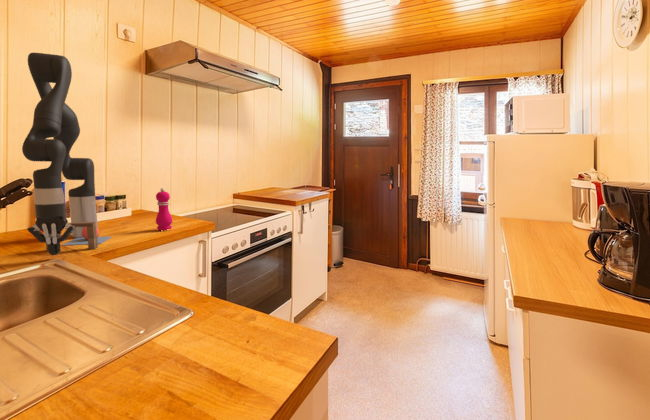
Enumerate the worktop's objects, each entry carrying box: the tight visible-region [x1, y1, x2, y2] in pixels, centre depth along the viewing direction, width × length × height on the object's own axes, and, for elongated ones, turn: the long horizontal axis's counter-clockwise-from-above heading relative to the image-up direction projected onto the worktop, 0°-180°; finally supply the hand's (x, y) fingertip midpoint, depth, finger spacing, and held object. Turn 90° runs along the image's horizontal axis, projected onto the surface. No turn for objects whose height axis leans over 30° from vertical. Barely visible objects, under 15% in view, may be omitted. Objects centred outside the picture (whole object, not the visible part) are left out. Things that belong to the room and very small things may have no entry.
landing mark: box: [62, 236, 112, 246], centre depth 138 cm, size 13×13×1 cm
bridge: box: [45, 222, 99, 252], centre depth 124 cm, size 3×15×10 cm, turn 105°
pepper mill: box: [155, 187, 173, 231], centre depth 161 cm, size 7×7×20 cm
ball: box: [82, 227, 100, 240], centre depth 139 cm, size 6×6×6 cm
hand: (54, 254), depth 112 cm, fingers closed
